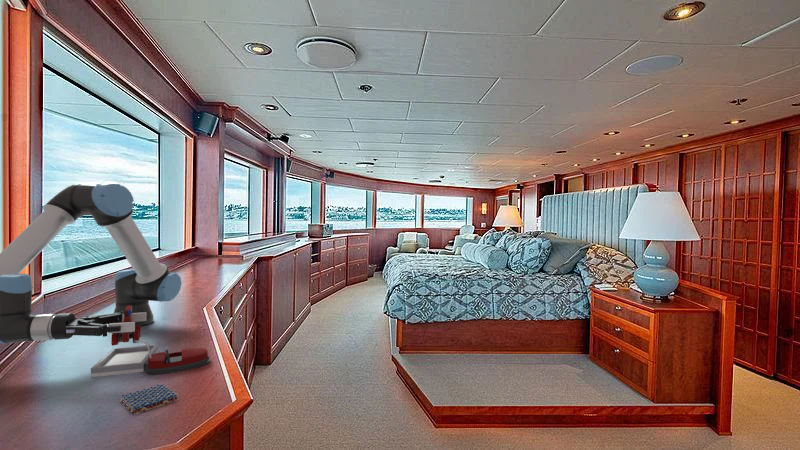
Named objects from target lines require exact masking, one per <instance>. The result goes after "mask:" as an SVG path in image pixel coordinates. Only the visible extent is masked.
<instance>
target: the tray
mask: <svg viewBox="0 0 800 450" xmlns="http://www.w3.org/2000/svg"><path fill="white" fill-rule="evenodd" d="M148 346H149V348H150V352H151V355H152V354H155V353H160V349H159V344H148ZM149 355H150V354H149V350H148V347H147V345H146V344H143V345H136V346H135V345H134V346H120V347H113V348H111V350H109V351H108V352H107V353H106V354H105V355H104V356H102V358H101V359H100V360H98V361H97V362H96V363H95V364H94V365H93V366H92V367H90V378H96V377H97V378H98V377H105V376H106V377H107V376H116V375H117V376H118V375H123V374H124V375H125V374H126V375H127V374H136V373H145V366H146V365H147V364H148V357H149Z"/></svg>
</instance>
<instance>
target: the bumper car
mask: <svg viewBox="0 0 800 450" xmlns="http://www.w3.org/2000/svg"><path fill="white" fill-rule="evenodd" d="M137 342H138V343H143V345H147V347H148V350H149V354H150V355H149V357H148V364H147V365H146V366H145V371H144V374H145V375H149V376H156V375H166V373H167V374H172V372H173V373H178V371H179V372H183V371H188V370H193V369H196V368H201V367H204V366H206V365H208V364H209V362H210V356H209V352H208V349H207V348H204V347H193V348H192V347H191V348H190V347H188V348H182V349H181V351H175V352H170V353H169V347H168V346H169V345H165V346H164V348H165V351H161V352H160V351H159V352H158V353H155V354H152V355H151V352H150V348H149V346H148V345H149V344H148V343H147V342H145V341H144V340H139V341H137V340H135V341H134V343H133V344H138V343H137Z"/></svg>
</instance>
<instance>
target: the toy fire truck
mask: <svg viewBox="0 0 800 450" xmlns="http://www.w3.org/2000/svg"><path fill="white" fill-rule="evenodd" d="M124 315H125V316H124V320H123V322H122V323H126V322H132V305H130V306H126V309H125V311H124ZM141 335H142V326H141V325H136V326H135V331H134V332H121V333H111V338H110V339H111V346H118V345H119V343H129V341H130V339H132V343H133V344H135V343H134V341H135V340H137V341H140V338H141V337H142V336H141ZM138 343H139V342H137V343H136V344H138Z"/></svg>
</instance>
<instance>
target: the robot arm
mask: <svg viewBox="0 0 800 450" xmlns="http://www.w3.org/2000/svg"><path fill="white" fill-rule="evenodd" d="M134 202H135V201H134V196H133V194H132V193H131V191H130V189H128V188H127V187H126V186H124V185H123V184H120V183H116V182H111V181H102V182H77V183H74V184H71V185H69V186H67V187H65V188H64V189H62V190H61V191H59V192H58V193H56V194H55V196H53V197H52V198H51V199H49V201H47V203H46V204H44V205H43V207H42V208H43V211H42V212H41V213H40V214H39V215H38V216H37V217H35V219H33V221H32V222H30V224H29V225H28V226H27V227H25V229H24V230H22V232H21V233H19V234H18V235H17V236H16V237H15V238H14V239H13V240H12V241H11V242H10V243H9V244H8V245H7V246H6V247H5V248H4V249H3V250H2V251H1V252H0V344H14V343H25V342H26V343H27V342H35V341H36V342H37V341H40V342H41V343H45V342H46V341H50V340H51V341H52V340H55V341H56V340H57V341H58V340H69V339H71V338H72V337H73V336H82V337H83V336H85V337H86V336H87V337H101V336H102V338H104V337H108V334H112V333H121V332H134V331H135V326H136V325H141V327H143V326H144V327H145V326H147V325H150V324H152V323H153V322H154V313H153V311H152V309H151V306H150V302H149V301H152V302H160V303H162V302H171V301H172V300H174V299H175V298H176V297H178V295H179V293H180V291H181V288H182V278H181V276H180V275H179V274H178V273H175V272H171V271H170V270H169V268H168V267H167V265H166V263H165V264H164V263H160V261H159V259H158V258H157V257H156V255H155V254H154V251H153V250H152V249H151V247H150V245H149V244H148V242H147V239H145V237H144V235H143V234H142V232H141V230H140V229H139V227H138V225H137V224H136V222H135V221H134V218H133V217H132V215H133V214H134V209H133V208H134ZM84 216H91V217H92V218H93V220H94V221H95V223H96V224H97V225H98V226H99V227H103V228H105V229H106V230H107V232H109V234H110V236H111V237H112V239H113V240H114V242H115V243H116V245H117V246H118V248H119V250H120V251H121V252H122V254H123V255H124V257H125V258H126V260H127V262H128V263H129V265H130V266H131V267H132V269H131V268H130V269H125V270H123V269H122V270H118V271H117V272H116V273H115V278H114V279H115V280H114V291H115V293H114V295H115V296H114V299H115V307H114V310H113V313H104V314H97V315H96V314H95V315H85V316H84V317H83V316H82V317H81V318H78V319H77V318H76V315H75V314H74V313H72V312H65V313H63V312H62V313H57V314H56V313H45V314H44V313H43V314H41V313H40V314H33V313H32V300H33V298H32V297H33V285H32V277H31V275H30V274H28V273H22V271H24V270H25V269H26V268H27V266H29V264H31V262H33V261H34V260H35V258H36V257H38V255H40V253H41V252H42V251H43V250H44V249H45V248H47V246H48V245H49V244H50V243H51V242H52V241H53V240H54V239H55V237H57V236H58V234H60V233H61V231H62V230H63V229H64V228H65V227H66V226H68V225H72V224H74V223H75V222H76V221H77V220H78V219H79V218H81V217H84ZM130 305H132V322H126V323H122V322H123V320H124V316H125V315H124V311H125V309H126V306H130Z"/></svg>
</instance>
